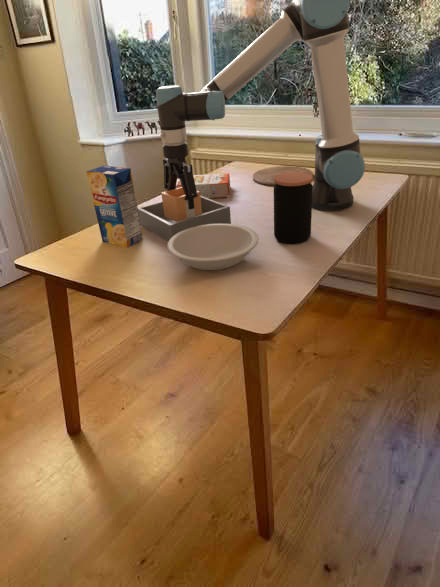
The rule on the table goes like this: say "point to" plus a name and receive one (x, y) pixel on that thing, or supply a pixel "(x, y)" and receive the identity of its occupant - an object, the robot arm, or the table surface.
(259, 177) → the trivet
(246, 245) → the soup bowl
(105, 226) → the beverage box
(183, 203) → the orange crate
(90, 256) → the table surface
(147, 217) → the charcoal crate
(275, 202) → the coffee jar
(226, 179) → the cracker box
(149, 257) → the table surface
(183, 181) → the robot arm
